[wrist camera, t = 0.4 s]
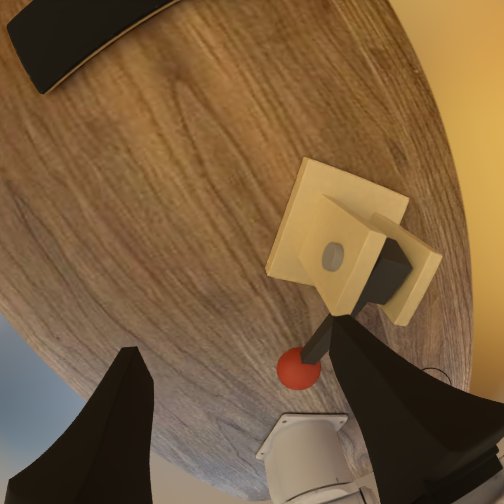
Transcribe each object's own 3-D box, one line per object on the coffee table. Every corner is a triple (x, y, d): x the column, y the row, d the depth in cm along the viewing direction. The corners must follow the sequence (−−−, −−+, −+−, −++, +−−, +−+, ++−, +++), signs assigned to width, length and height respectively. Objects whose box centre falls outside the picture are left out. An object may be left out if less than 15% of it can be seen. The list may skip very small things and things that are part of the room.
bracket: (360, 289, 23) (408, 353, 16) (264, 268, 21) (288, 341, 14) (401, 194, 20) (473, 231, 13) (303, 156, 19) (356, 178, 12)
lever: (305, 364, 24) (311, 398, 21) (268, 359, 23) (271, 395, 21) (400, 237, 16) (423, 275, 14) (355, 222, 16) (376, 261, 13)
